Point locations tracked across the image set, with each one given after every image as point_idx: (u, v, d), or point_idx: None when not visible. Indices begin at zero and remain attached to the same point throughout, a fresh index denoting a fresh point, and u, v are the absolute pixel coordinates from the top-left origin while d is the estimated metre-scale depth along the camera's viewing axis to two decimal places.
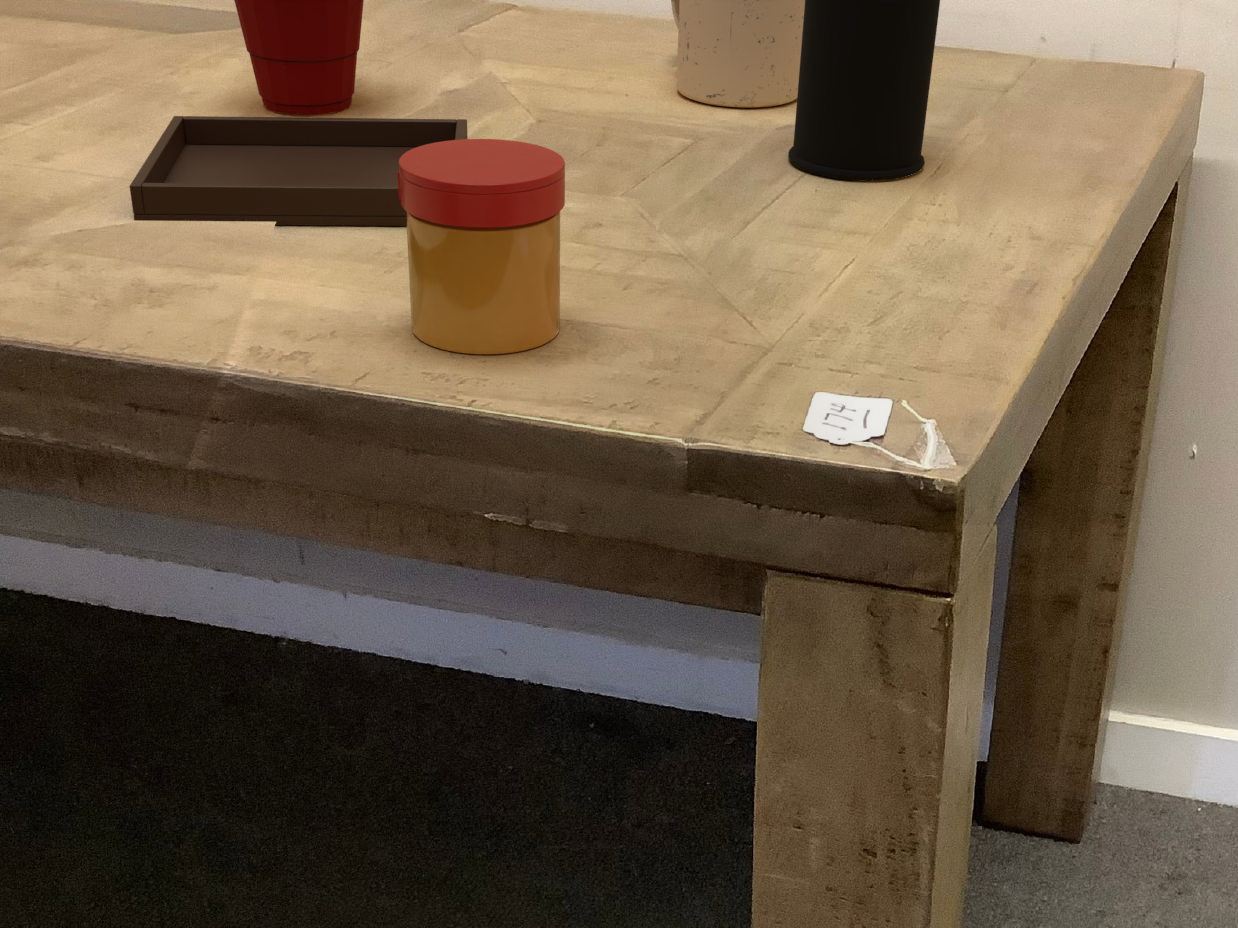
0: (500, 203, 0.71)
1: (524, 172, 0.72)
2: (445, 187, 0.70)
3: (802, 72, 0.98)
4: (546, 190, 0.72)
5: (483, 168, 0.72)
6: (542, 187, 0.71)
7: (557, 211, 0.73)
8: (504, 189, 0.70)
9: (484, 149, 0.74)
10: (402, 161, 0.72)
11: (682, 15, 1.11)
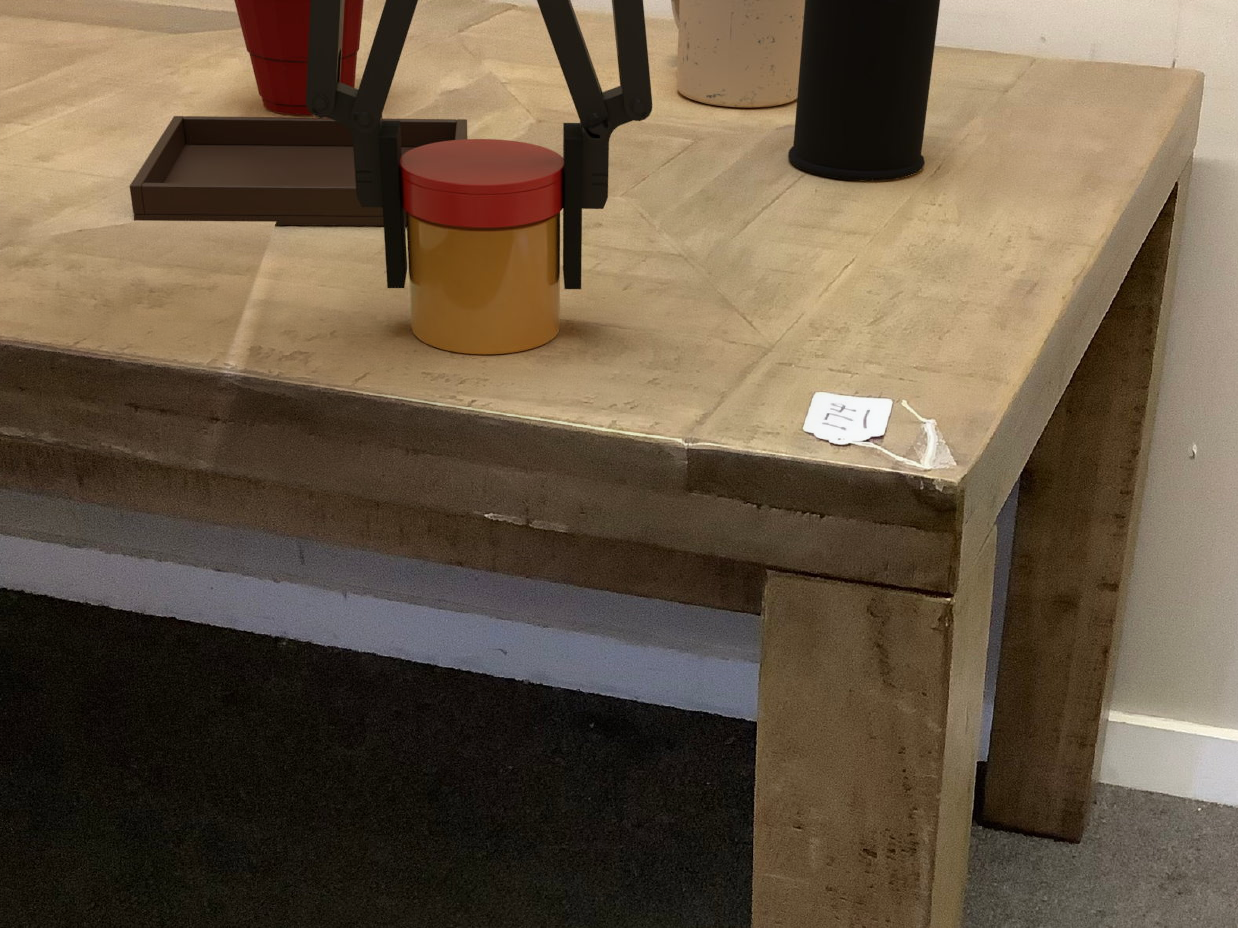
0: (500, 203, 0.71)
1: (524, 172, 0.72)
2: (445, 187, 0.70)
3: (802, 72, 0.98)
4: (546, 190, 0.72)
5: (483, 168, 0.72)
6: (542, 187, 0.71)
7: (557, 211, 0.73)
8: (504, 189, 0.70)
9: (484, 149, 0.74)
10: (402, 162, 0.72)
11: (682, 15, 1.11)
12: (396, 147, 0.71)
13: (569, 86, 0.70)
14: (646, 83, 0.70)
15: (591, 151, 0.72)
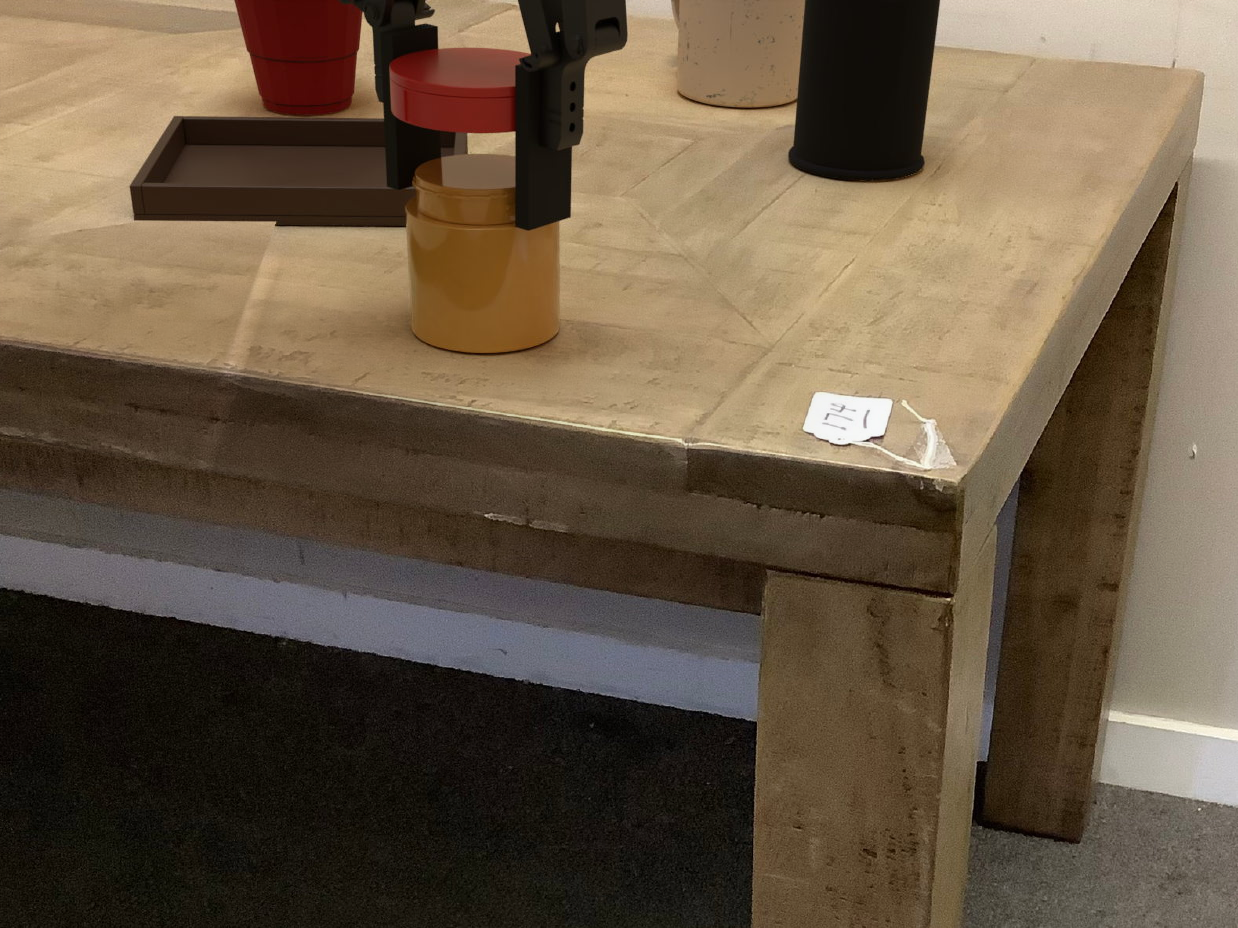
0: None
1: None
2: (493, 93, 0.68)
3: (802, 72, 0.98)
4: None
5: (494, 72, 0.70)
6: None
7: None
8: None
9: (451, 58, 0.72)
10: (412, 78, 0.69)
11: (682, 15, 1.11)
12: None
13: None
14: None
15: None
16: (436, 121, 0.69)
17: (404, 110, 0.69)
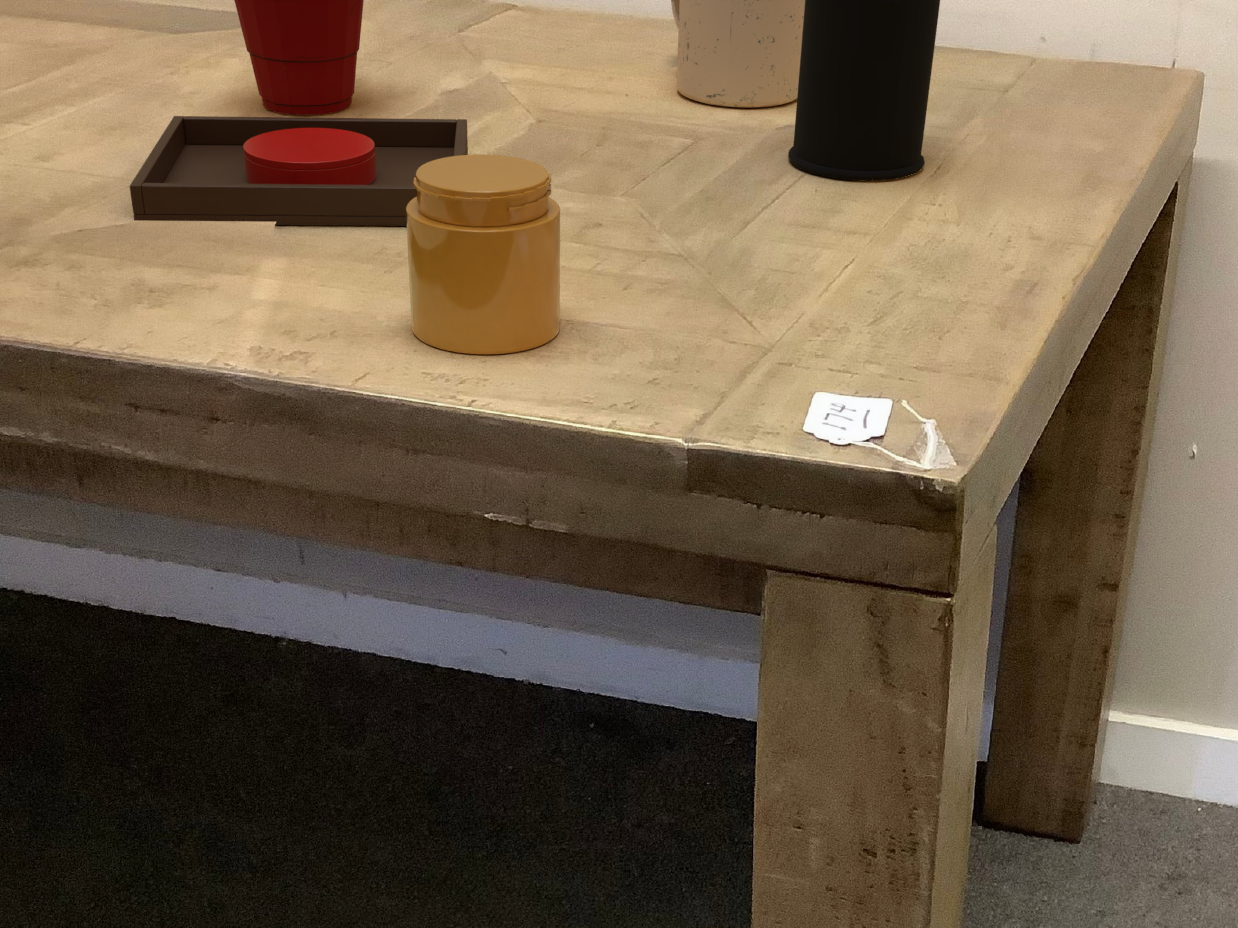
0: (374, 158, 0.94)
1: (348, 137, 0.95)
2: (360, 159, 0.92)
3: (802, 72, 0.98)
4: None
5: (331, 145, 0.93)
6: None
7: None
8: (374, 147, 0.94)
9: (278, 142, 0.94)
10: (298, 161, 0.90)
11: (682, 15, 1.11)
12: None
13: None
14: None
15: None
16: None
17: None
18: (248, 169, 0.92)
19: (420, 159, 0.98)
